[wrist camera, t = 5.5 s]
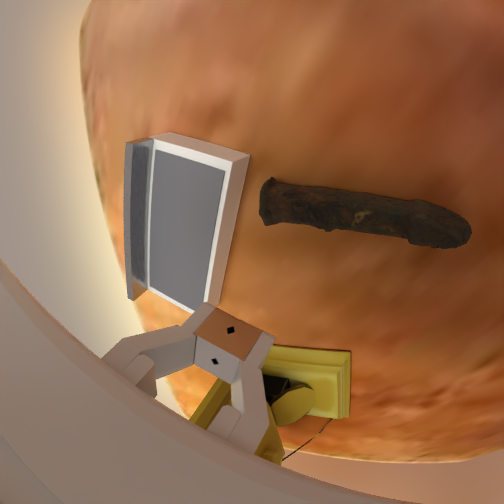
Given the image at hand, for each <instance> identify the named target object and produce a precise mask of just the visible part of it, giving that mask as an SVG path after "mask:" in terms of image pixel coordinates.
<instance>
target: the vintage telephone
mask: <svg viewBox="0 0 504 504" xmlns="http://www.w3.org/2000/svg"><path fill="white" fill-rule="evenodd" d="M261 370H262V377H263V384H264V391H265V397H266V404H267V411H268V418H269V426H268V428H267V430H266V432H265V434H264V436H263V438H262V440H261V442H260V444H259V445H258V447H257V449H256V451H255V453H254V455H256V456H259V457H261V458H263V459H265V460H268V461H270V462H272V463H275V464H277V465H280V466H281V462H282V461H283V460H284V459H286V458H288V457H289V456H290V455H292V454H293V453H295V452H296V451H297V450H299V449H300V448H301V447H303V446H304V445H305V444H307V443H308V442H309V441H311V440H312V439H313V438H314V437H313V438H312V439H311V440H309V441H308V442H307V443H305V444H304V445H302V446H301V447H300V448H298V449H297V450H295V451H294V452H293V453H291V454H290V455H288V456H287V457H285V458H284V459H283V456H284V454H285V452H284V449H283V446H282V442H281V439H280V436H279V433H278V430H277V427H276V426H285V425H288V424H291V423H294V422H297V421H298V420H299V419H301V418H302V417H303V416H305V415H312V416H319V417H327V418H331V420H332V419H333V418H335V419H340V418H343V417H349V406H350V352H349V351H339V350H325V349H313V348H302V347H291V346H282V345H273V346H272V348H271V350H270V352H269V354H268V356H267V359H266V361H265V363H264V365H263V367H262V368H261ZM226 405H229V406H231V407H232V401H231V384H229V383H227V382H225V381H224V380H222V379H220V378H218V379H217V380H216V382H215V383H214V385H213V386H212V388H211V389H210V391H209V392H208V394H207V395H206V396H205V398H204V399H203V401H202V402H201V404H200V405H199V407H198V408H197V409H196V411H195V412H194V414H193V415H192V417H191V418H190V419H189V421H191V422H192V423H194V424H196V425H198V426H199V427H201V428H203V429H205V430H207V429H208V427H209V426H210V424H211V423H212V421H213V420H214V418H215V417H216V416H217V414H218V413H219V411H220V410H221V408H222V407H223V406H226ZM331 420H330V421H331ZM330 421H329V422H330ZM329 422H328V423H329ZM328 423H327V424H328ZM327 424H326V425H327ZM324 428H325V427H324ZM324 428H323V429H324ZM323 429H322V430H323ZM322 430H321V431H322ZM321 431H320V432H321ZM320 432H319V434H320ZM317 435H318V434H317ZM317 435H316V436H317ZM316 436H315V437H316Z"/></svg>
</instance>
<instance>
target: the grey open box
mask: <svg viewBox="0 0 504 504" xmlns="http://www.w3.org/2000/svg"><path fill="white" fill-rule="evenodd" d="M249 159H250V155H249V154H246V153H243V152H240V151H236V150H233V149H230V148H226V147H223V146H220V145H216V144H213V143H209V142H206V141H202V140H199V139H195V138H191V137H187V136H184V135H180V134H176V133H172V132H167V133H163V134H158V135H154V136H150V137H146V138H141V139H137V140H133V141H130V142H126V149H125V168H124V248H125V267H126V282H127V293H128V298H129V299H131V300H132V301H134V300H136V299H137V298H138V297H139V296H140V295H141V294H143V293H144V292H145V291H146V290H147V289H148V290H150V291H152V292H154V293H155V294H157V295H159V296H161V297H162V298H164V299H166V300H168V301H169V302H171V303H173V304H175V305H177V306H178V307H180V308H182V309H184V310H186V311H187V312H189V313H191V314H193V313H194V312H195V311H196V310H197V309H198V308H199V306H200V305H201V304H202V303H204V302H208V303H209V304H211V305H213V306H215V307H216V306H217V305H218V304H219V300H220V295H221V290H222V285H223V280H224V275H225V271H226V266H227V261H228V256H229V251H230V246H231V242H232V237H233V232H234V227H235V223H236V218H237V213H238V209H239V204H240V199H241V195H242V190H243V186H244V181H245V177H246V172H247V168H248V163H249Z"/></svg>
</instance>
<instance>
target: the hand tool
mask: <svg viewBox="0 0 504 504" xmlns="http://www.w3.org/2000/svg"><path fill="white" fill-rule="evenodd" d="M259 215H260V216H261V218H262V220H263V222H264V225H265V226H269V225H274V224H278V223H282V222H286V223H294V224H305V225H311V226H313V227H316V228H319V229H324V230H325V231H326V232H330V231H332V230H334V229H341V230H351V231H357V232H364V233H372V234H379V235H388V236H396V237H400V238H405V239H408V241H409V243H410V244H413V245H419V246H431V247H432V248H439V247H440V248H442V249H448V248H457V247H459V246H461V245H464V244H466V243H467V241H468V240H469V238H470V235H471V234H472V231H471V227H470V225H469V223H468V222H467V221H466V220H465V219H464V218H462V217H460V216H459V215H457V214H455V213H453V212H451V211H449V210H446V209H445V208H443V207H439V206H435V205H433V204H431V203H428V202H425V201H422V200H414V201H405V200H399V199H393V198H389V197H383V196H376V195H372V194H368V193H357V192H349V191H342V190H337V189H331V188H325V187H311V186H297V185H288V184H282V183H279V182H277V181H276V179H275V178H273V177H271V178H270V179H269V180H267V181H266V182H265V183H264V185H263V186H262V189H261V191H260V208H259Z"/></svg>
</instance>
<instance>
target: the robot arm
mask: <svg viewBox="0 0 504 504" xmlns="http://www.w3.org/2000/svg"><path fill="white" fill-rule="evenodd" d="M275 339H276V337H275V336H273V335H271V334H269V333H267V332H265V331H263V330H261V329H259V328H257V327H255V326H252V325H250V324H248V323H246V322H244V321H242V320H239V319H237V318H235V317H234V316H232V315H230V314H228V313H226V312H224V311H223V310H221V309H219V308H217V307H215V306H213V305H211V304H209V303H208V302H204V303H202V304H201V305H200V306H199V308H198V309H197V310H196V311H195V312H194V313H193V314H192V315H191V316H190V317H189V318H188V319H187V320H186V321H185V322H184V323H183V325H182V326H181V327H180V326H178V325H175V326H171V327H167V328H163V329H159V330H155V331H151V332H147V333H143V334H139V335H135V336H130V337H126V338H123V339H121V340H120V341H119V342H118V343H117V344H116V345H115V346H114V347H113V348H112V349H111V350H110V351H109V352H108V353H107V354H105V355H104V356H103V357H102V358H101V359H100V358H99V357H98V356H96V355H95V354H94V353H93V352H92V351H91V350H89V349H88V348H87V347H86V346H85V345H84V344H82V343H81V342H80V341H79V340H78V339H77V338H76V337H75V336H73V335H72V334H71V333H70V332H69V331H68V330H67V329H66V328H65V327H64V326H63V325H62V324H61V323H60V322H58V320H56V319H55V318H54V317H53V316H52V315H51V314H50V313H49V312H48V311H47V310H46V309H45V308H44V307H43V306H42V305H41V303H40V302H39V301H38V300H37V299H36V298H35V297H34V296H33V295H32V294H31V293H30V292H29V291H28V289H27V288H26V287H25V286H24V285H23V284H22V283H21V282H20V280H18V278H17V277H16V276H15V275H14V274H13V272H12V271H11V270H10V269H9V268H8V267H7V265H6V264H5V262H4V261H3V260H2V259H1V258H0V504H420V503H413V502H406V501H400V500H395V499H389V498H384V497H379V496H375V495H371V494H366V493H362V492H358V491H354V490H351V489H347V488H343V487H340V486H337V485H333V484H330V483H327V482H324V481H320V480H318V479H315V478H312V477H309V476H306V475H303V474H300V473H297V472H295V471H292V470H290V469H287V468H285V467H282V466H280V465H277V464H275V463H272V462H270V461H268V460H265V459H263V458H261V457H259V456H256V455H254V453H255V451H256V449H257V447H258V445H259V444H260V442H261V440H262V438H263V436H264V434H265V432H266V430H267V428H268V426H269V418H268V411H267V404H266V397H265V391H264V384H263V377H262V370H261V368H262V367H263V365H264V363H265V361H266V359H267V356H268V354H269V352H270V350H271V348H272V346H273V343H274V341H275ZM193 364H195V365H196V366H198V367H200V368H202V369H204V370H206V371H208V372H210V373H211V374H213V375H215V376H217V377H218V378H220V379H222V380H224V381H225V382H227V383H229V384H231V401H232V407H231V406H229V405H226V406H223V407H222V408H221V410H220V411H219V413H218V414H217V416H216V417H215V418H214V420H213V421H212V423H211V424H210V426H209V427H208V429H207V430H205V429H203V428H201V427H199V426H198V425H196V424H194V423H192V422H191V421H189V420H187V419H186V418H184V417H182V416H181V415H179V414H177V413H176V412H174V411H173V410H171V409H169V408H168V407H166V406H165V405H163V404H162V403H160V402H159V401H157V400H156V399H154V398H155V397H156V396H157V389H156V379H159V378H161V377H164V376H166V375H169V374H172V373H174V372H177V371H179V370H182V369H184V368H187V367H189V366H191V365H193Z"/></svg>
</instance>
